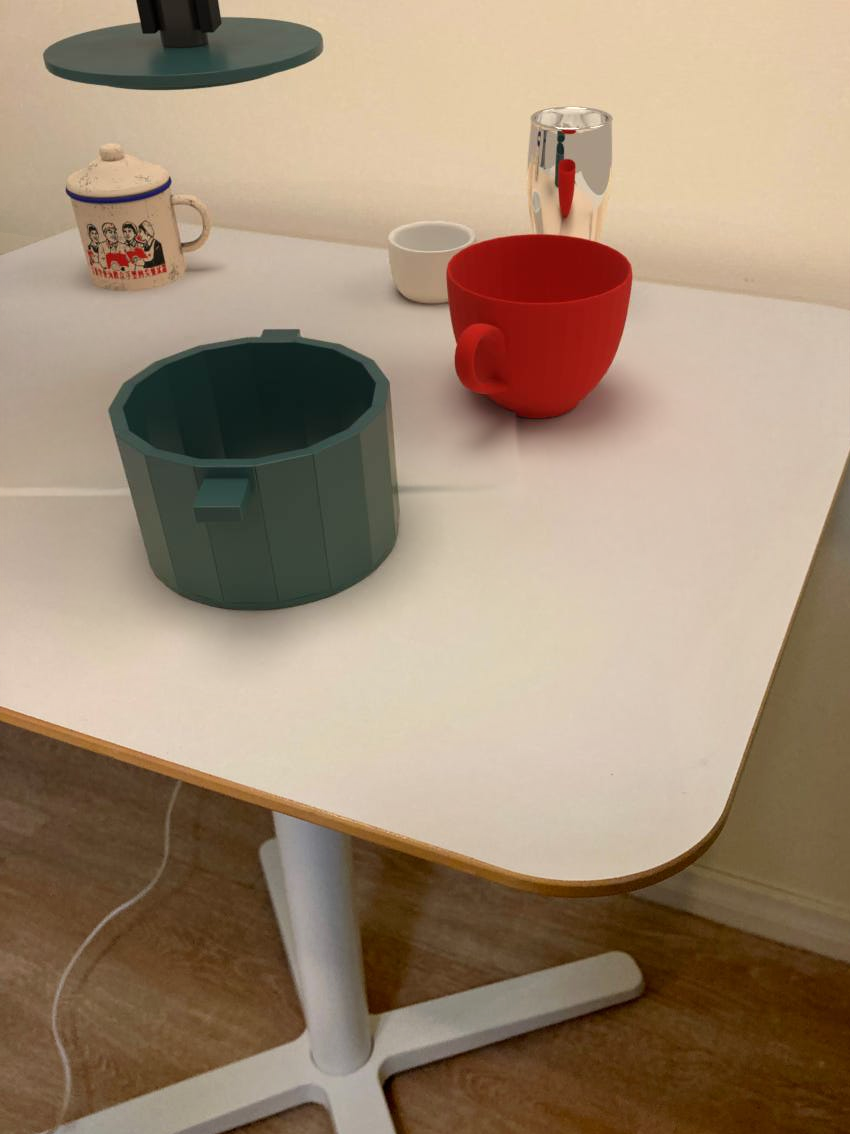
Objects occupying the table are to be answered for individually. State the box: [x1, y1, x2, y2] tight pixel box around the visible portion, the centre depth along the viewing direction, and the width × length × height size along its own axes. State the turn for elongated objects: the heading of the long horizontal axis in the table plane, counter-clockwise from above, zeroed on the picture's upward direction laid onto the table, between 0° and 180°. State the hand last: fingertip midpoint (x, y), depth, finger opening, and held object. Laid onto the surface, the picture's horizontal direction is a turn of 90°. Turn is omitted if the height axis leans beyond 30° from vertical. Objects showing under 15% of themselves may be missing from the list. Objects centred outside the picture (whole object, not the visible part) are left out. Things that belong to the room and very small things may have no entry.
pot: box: [107, 328, 400, 611], centre depth 62 cm, size 16×21×10 cm
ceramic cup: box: [446, 233, 633, 419], centre depth 74 cm, size 13×17×10 cm
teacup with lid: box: [65, 142, 212, 292], centre depth 94 cm, size 12×9×12 cm
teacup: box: [387, 220, 478, 305], centre depth 92 cm, size 10×8×5 cm
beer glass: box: [526, 106, 614, 243], centre depth 87 cm, size 7×7×15 cm
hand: (182, 27), depth 63 cm, fingers closed on lid, 3 cm apart
